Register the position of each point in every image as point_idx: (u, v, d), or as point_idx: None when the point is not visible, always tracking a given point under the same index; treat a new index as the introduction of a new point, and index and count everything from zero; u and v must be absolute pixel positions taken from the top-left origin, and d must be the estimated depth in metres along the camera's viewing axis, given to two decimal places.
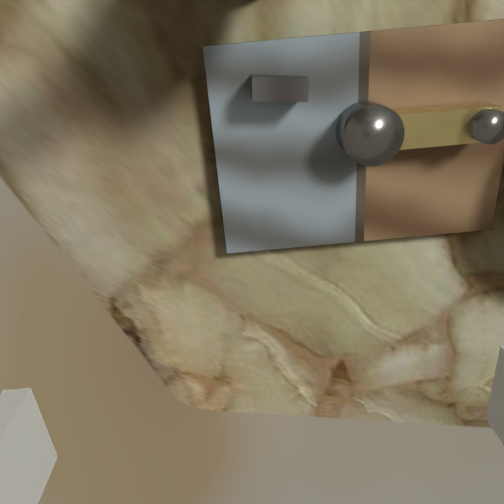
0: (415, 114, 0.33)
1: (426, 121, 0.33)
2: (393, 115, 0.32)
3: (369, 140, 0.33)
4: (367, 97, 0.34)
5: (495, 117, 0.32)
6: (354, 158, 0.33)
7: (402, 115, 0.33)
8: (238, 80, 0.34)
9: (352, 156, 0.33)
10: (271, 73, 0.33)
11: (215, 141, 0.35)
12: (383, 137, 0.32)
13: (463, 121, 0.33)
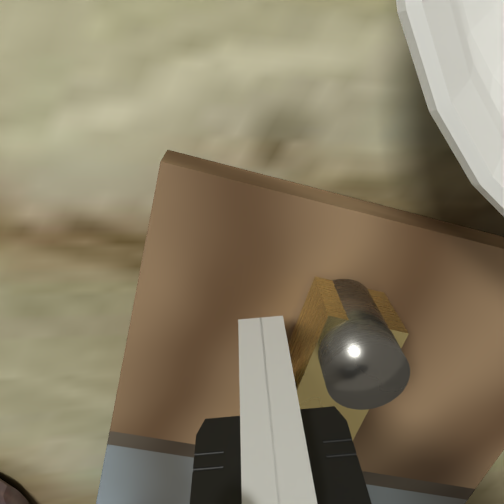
0: None
1: None
2: None
3: None
4: None
5: (344, 373, 0.12)
6: None
7: None
8: None
9: None
10: None
11: None
12: None
13: (326, 388, 0.14)
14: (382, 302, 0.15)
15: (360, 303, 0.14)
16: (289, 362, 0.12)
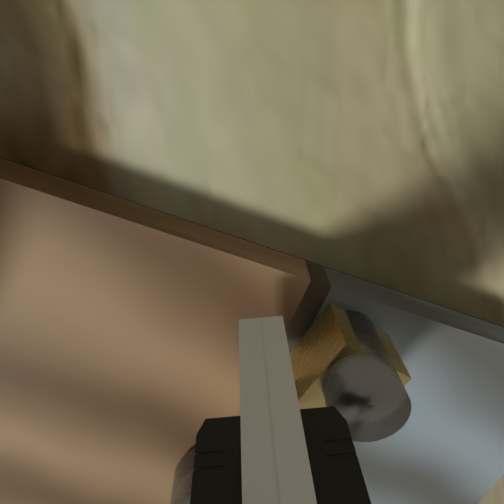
0: None
1: None
2: None
3: None
4: None
5: (350, 403, 0.13)
6: None
7: None
8: None
9: None
10: None
11: None
12: None
13: None
14: (387, 343, 0.15)
15: (372, 339, 0.14)
16: (289, 362, 0.12)
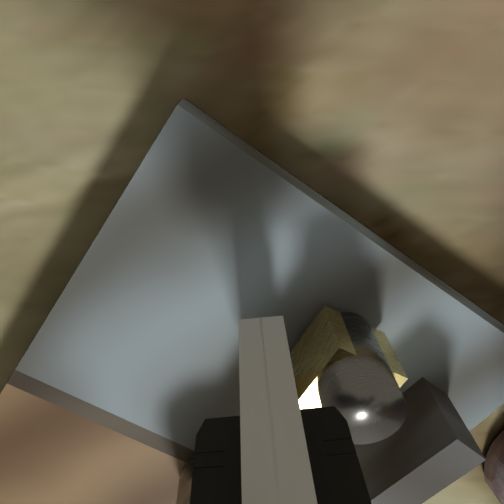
0: None
1: None
2: None
3: None
4: None
5: (345, 406, 0.13)
6: None
7: None
8: (460, 377, 0.17)
9: None
10: None
11: (422, 280, 0.15)
12: None
13: None
14: (384, 343, 0.15)
15: (367, 340, 0.14)
16: (289, 362, 0.12)
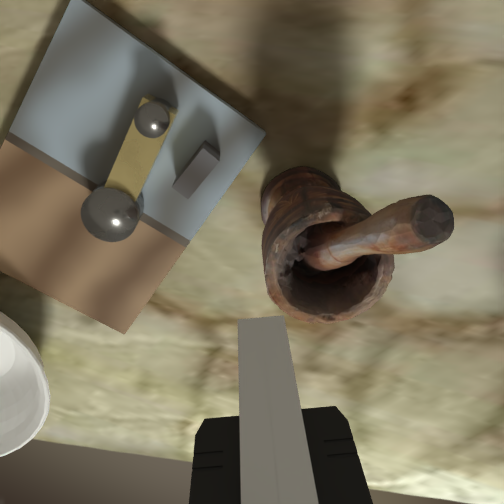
0: (111, 172, 0.34)
1: (122, 166, 0.34)
2: (97, 194, 0.34)
3: (110, 222, 0.35)
4: (141, 220, 0.39)
5: (141, 116, 0.31)
6: (119, 239, 0.36)
7: (106, 183, 0.35)
8: (224, 140, 0.36)
9: (116, 240, 0.36)
10: None
11: (192, 83, 0.34)
12: (113, 210, 0.35)
13: (139, 135, 0.33)
14: (174, 109, 0.34)
15: (160, 101, 0.33)
16: (290, 362, 0.12)
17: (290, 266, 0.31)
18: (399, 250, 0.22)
